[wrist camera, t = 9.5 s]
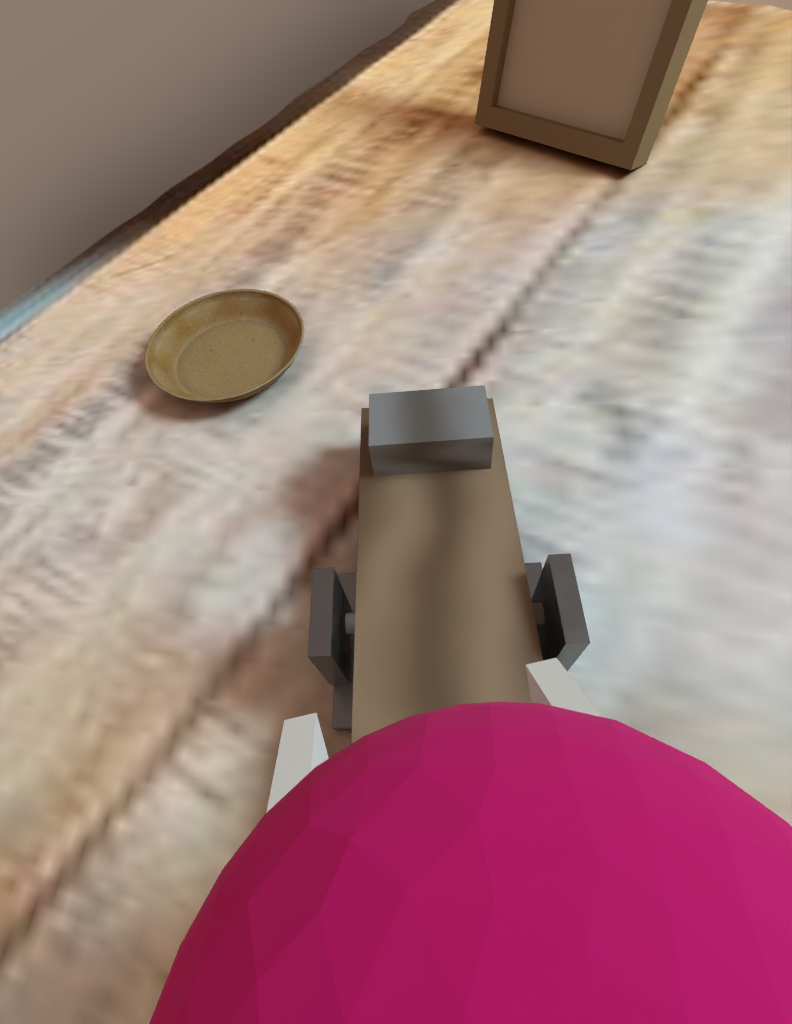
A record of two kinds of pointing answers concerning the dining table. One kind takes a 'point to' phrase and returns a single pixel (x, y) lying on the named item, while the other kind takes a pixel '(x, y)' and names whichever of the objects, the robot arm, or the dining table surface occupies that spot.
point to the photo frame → (586, 72)
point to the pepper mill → (498, 886)
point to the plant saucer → (225, 346)
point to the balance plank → (437, 562)
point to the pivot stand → (338, 597)
